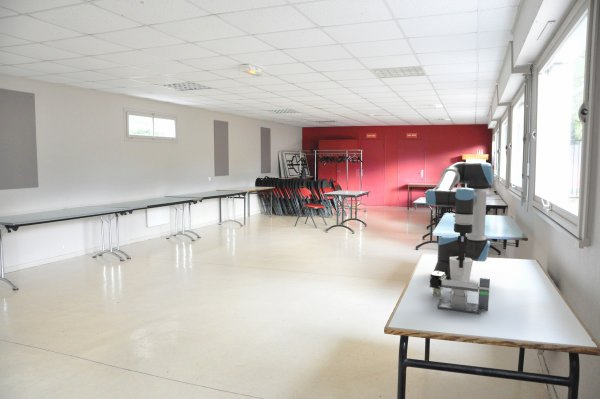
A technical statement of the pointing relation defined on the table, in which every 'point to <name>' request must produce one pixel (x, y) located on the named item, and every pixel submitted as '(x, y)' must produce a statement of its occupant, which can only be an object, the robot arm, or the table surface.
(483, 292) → the stand
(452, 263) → the cup
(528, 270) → the table surface
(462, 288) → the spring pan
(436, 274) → the pneumatic valve
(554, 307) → the table surface
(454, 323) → the table surface
